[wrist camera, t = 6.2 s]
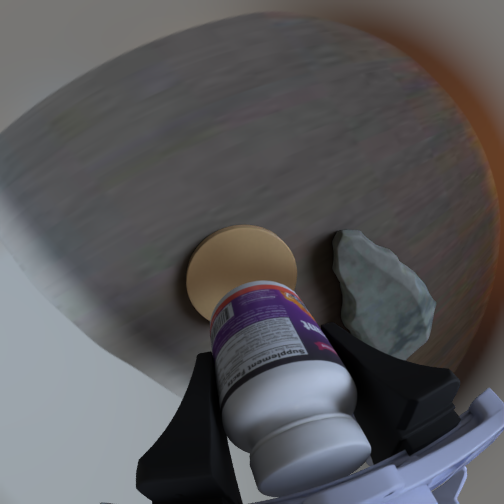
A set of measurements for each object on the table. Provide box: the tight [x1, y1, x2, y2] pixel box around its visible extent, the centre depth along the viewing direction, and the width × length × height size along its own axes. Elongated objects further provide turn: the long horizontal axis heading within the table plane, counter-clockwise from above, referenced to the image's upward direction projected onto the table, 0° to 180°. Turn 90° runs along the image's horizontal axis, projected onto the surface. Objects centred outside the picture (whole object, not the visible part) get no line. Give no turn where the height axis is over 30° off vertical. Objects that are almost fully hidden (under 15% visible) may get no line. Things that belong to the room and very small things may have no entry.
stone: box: [332, 230, 436, 360], centre depth 23 cm, size 17×3×10 cm
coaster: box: [186, 225, 297, 321], centre depth 21 cm, size 8×8×1 cm
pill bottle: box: [210, 281, 371, 497], centre depth 11 cm, size 5×5×10 cm
